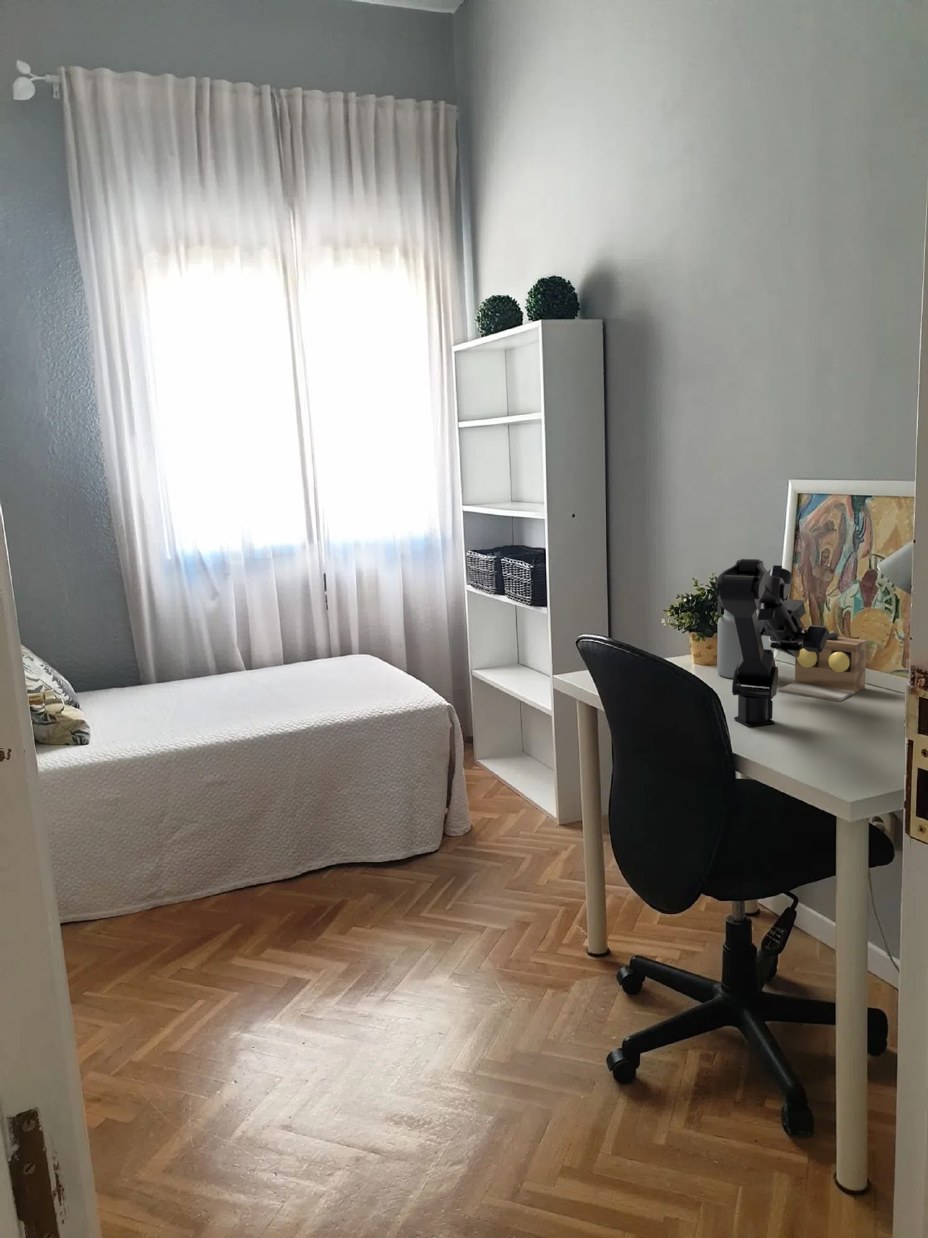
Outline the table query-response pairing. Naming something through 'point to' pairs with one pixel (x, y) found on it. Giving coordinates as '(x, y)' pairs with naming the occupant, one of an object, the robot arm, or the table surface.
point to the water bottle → (727, 642)
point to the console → (831, 672)
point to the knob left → (808, 658)
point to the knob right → (840, 661)
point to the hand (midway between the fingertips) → (797, 655)
